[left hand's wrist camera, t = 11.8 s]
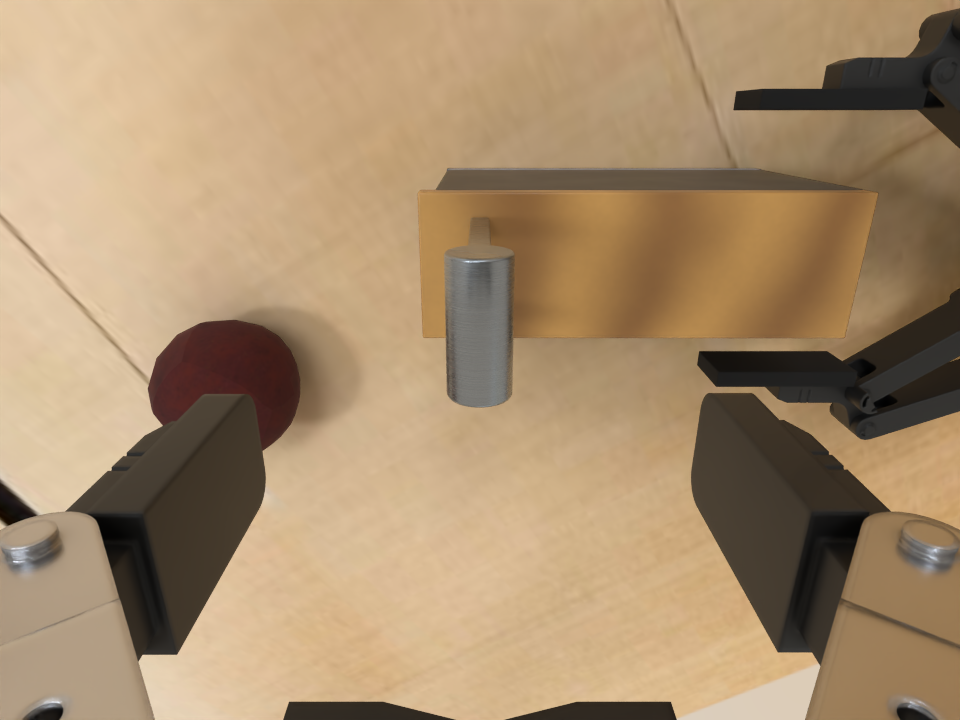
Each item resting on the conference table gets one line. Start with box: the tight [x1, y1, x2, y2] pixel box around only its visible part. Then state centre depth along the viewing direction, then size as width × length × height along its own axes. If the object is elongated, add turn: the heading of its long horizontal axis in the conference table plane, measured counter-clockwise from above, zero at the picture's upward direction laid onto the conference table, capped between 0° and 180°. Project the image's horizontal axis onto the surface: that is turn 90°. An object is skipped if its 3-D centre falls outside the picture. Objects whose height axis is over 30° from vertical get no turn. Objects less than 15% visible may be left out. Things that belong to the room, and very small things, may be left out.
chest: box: [436, 168, 862, 190], centre depth 29 cm, size 16×6×10 cm, turn 90°
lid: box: [418, 190, 878, 407], centre depth 20 cm, size 17×6×9 cm, turn 90°
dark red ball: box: [148, 320, 300, 451], centre depth 33 cm, size 7×8×7 cm
